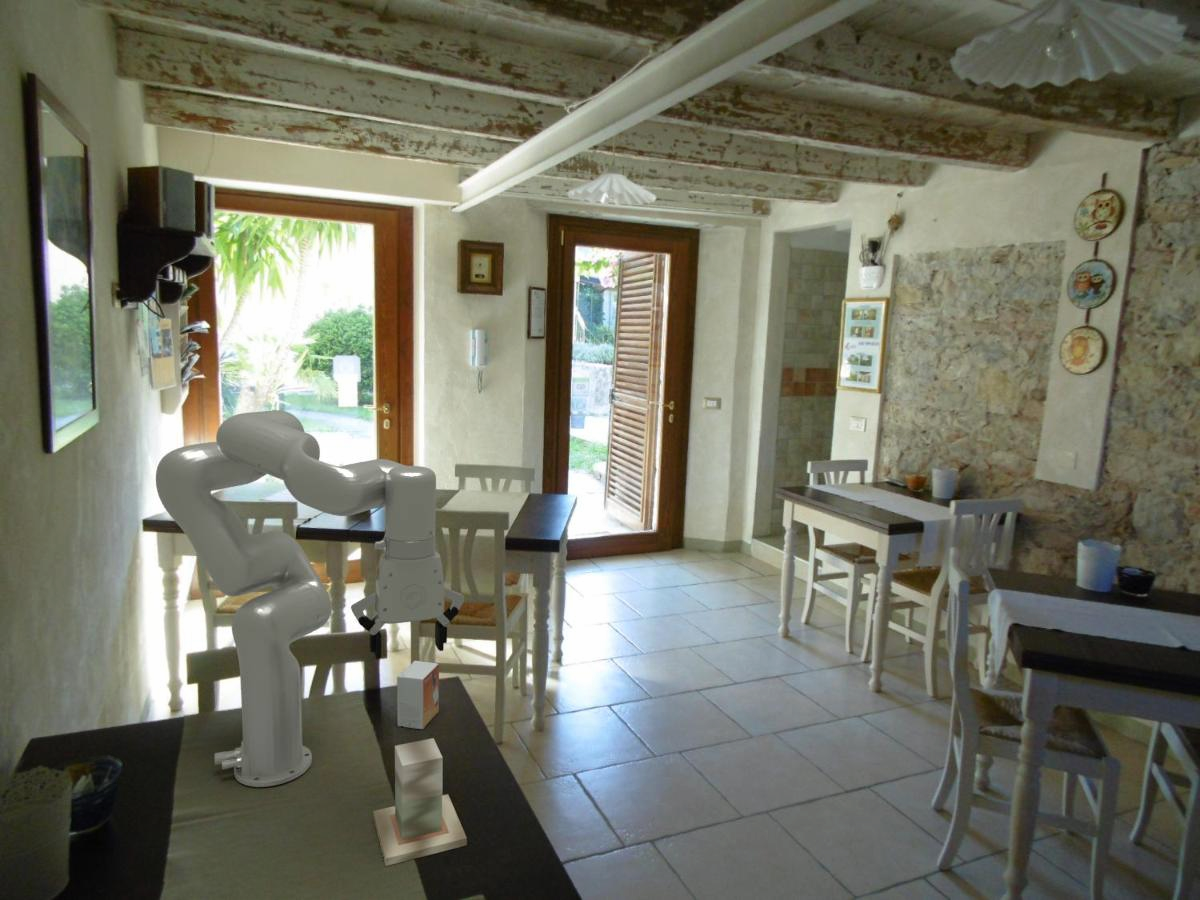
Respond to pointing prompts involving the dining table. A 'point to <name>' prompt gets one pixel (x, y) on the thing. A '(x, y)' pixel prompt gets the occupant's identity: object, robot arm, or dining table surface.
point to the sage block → (418, 815)
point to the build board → (420, 845)
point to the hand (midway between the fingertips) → (408, 651)
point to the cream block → (418, 770)
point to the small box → (418, 694)
